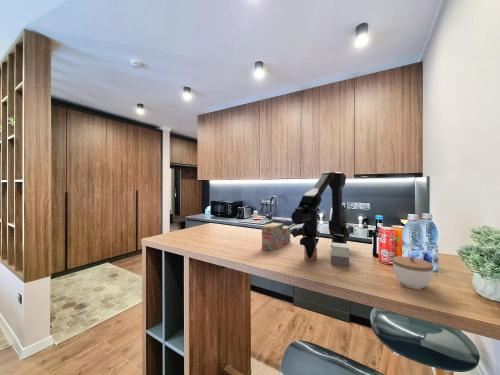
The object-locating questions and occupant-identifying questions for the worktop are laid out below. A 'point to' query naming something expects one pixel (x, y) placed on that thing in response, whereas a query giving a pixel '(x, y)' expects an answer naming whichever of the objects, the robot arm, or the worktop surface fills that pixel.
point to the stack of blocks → (275, 236)
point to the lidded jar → (412, 271)
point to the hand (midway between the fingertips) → (310, 256)
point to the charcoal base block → (340, 260)
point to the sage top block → (339, 249)
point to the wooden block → (314, 255)
